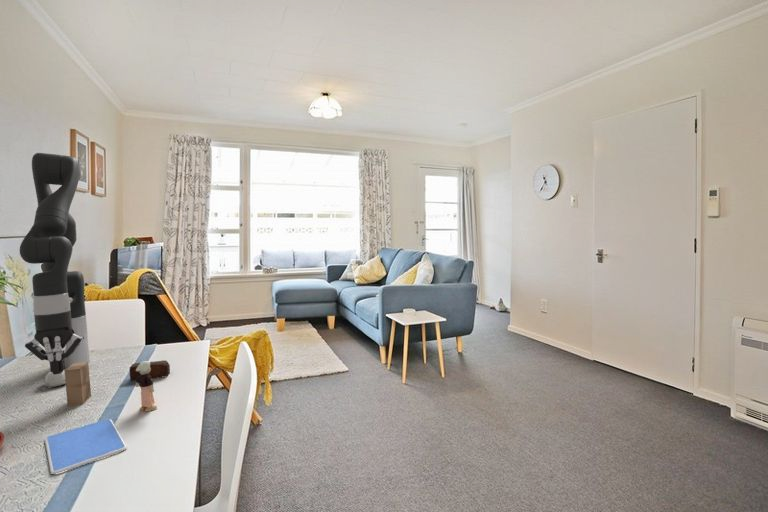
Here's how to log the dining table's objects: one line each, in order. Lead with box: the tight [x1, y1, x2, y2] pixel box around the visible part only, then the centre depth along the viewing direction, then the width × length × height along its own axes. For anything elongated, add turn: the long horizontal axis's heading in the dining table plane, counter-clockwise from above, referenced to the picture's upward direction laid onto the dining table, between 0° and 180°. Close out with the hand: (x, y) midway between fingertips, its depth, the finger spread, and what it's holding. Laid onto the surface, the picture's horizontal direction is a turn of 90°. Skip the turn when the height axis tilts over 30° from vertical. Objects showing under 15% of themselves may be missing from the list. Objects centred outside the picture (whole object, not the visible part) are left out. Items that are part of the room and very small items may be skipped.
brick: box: [129, 359, 171, 382], centre depth 125 cm, size 11×4×5 cm, turn 109°
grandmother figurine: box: [135, 360, 158, 413], centre depth 103 cm, size 8×4×13 cm, turn 71°
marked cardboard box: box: [64, 362, 92, 407], centre depth 108 cm, size 6×4×10 cm, turn 20°
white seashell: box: [43, 371, 66, 388], centre depth 122 cm, size 9×8×5 cm
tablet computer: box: [44, 418, 128, 474], centre depth 86 cm, size 19×13×1 cm, turn 44°
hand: (58, 373), depth 107 cm, fingers closed
